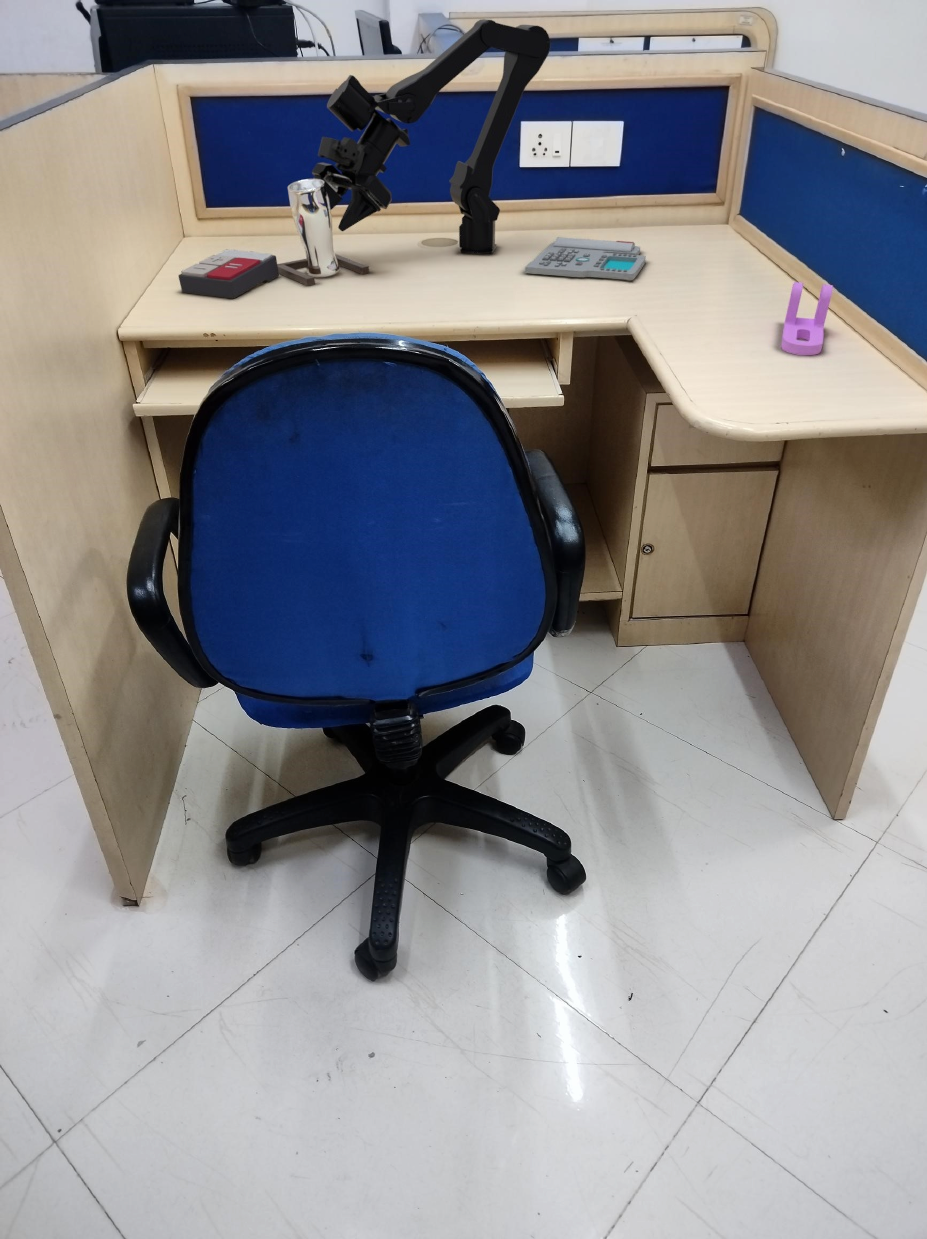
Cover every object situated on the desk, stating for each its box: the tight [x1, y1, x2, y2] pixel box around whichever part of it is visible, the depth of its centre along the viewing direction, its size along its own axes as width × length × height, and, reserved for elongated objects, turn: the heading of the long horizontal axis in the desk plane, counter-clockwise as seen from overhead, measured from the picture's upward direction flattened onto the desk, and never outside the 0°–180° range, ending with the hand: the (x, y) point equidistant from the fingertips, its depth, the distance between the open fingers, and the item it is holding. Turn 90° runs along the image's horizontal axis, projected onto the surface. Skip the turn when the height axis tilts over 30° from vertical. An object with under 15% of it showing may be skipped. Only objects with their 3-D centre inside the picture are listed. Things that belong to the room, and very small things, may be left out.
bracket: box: [780, 281, 834, 356], centre depth 125 cm, size 13×6×7 cm, turn 161°
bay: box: [277, 253, 370, 287], centre depth 158 cm, size 12×13×1 cm
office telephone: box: [524, 236, 647, 281], centre depth 162 cm, size 23×3×20 cm
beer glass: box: [287, 178, 341, 278], centre depth 152 cm, size 7×7×15 cm
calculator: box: [178, 248, 280, 299], centre depth 151 cm, size 11×4×15 cm
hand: (326, 225), depth 154 cm, fingers open, 9 cm apart
